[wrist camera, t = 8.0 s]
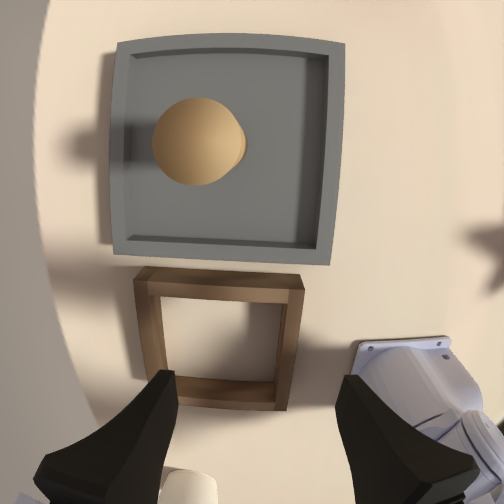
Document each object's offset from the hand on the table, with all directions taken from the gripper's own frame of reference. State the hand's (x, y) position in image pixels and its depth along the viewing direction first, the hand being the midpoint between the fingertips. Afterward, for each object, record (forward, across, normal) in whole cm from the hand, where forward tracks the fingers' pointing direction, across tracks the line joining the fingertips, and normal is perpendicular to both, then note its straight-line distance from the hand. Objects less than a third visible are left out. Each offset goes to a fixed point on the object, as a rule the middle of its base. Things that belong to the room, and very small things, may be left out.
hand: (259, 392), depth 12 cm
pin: (+10, +2, -10) cm, 14 cm away
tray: (+10, +2, -10) cm, 14 cm away
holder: (+10, +2, +4) cm, 12 cm away
